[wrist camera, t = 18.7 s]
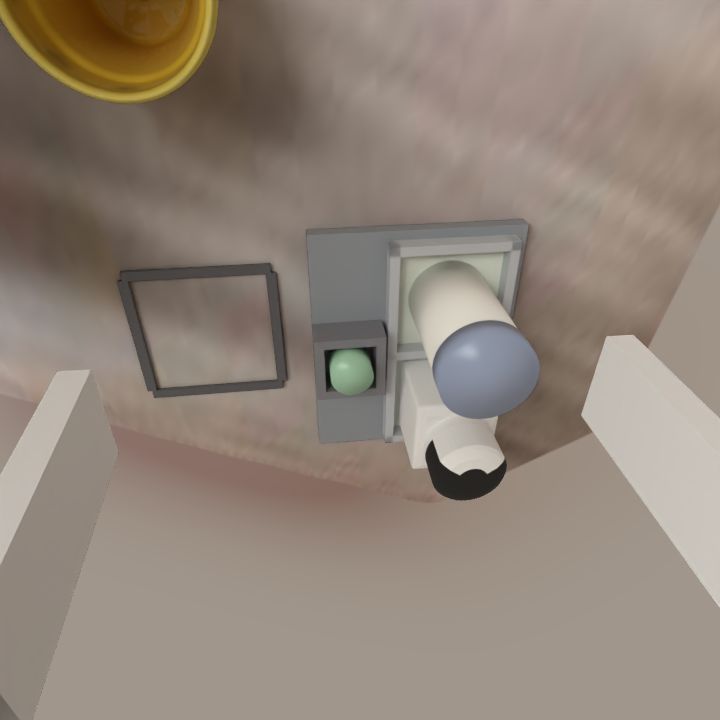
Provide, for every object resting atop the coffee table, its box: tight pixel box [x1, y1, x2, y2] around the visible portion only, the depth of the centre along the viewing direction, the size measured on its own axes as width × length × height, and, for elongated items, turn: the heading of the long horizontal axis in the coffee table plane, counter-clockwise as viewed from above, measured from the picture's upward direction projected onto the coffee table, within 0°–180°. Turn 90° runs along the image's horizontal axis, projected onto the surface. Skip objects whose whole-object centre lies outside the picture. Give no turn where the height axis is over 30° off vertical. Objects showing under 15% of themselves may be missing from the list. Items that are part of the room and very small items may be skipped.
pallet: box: [306, 219, 529, 444], centre depth 49 cm, size 18×22×4 cm
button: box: [328, 347, 374, 395], centre depth 47 cm, size 4×4×3 cm
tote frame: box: [117, 263, 287, 398], centre depth 47 cm, size 13×13×1 cm
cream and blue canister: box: [408, 260, 540, 419], centre depth 42 cm, size 7×7×12 cm
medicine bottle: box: [398, 360, 507, 500], centre depth 47 cm, size 7×7×12 cm
